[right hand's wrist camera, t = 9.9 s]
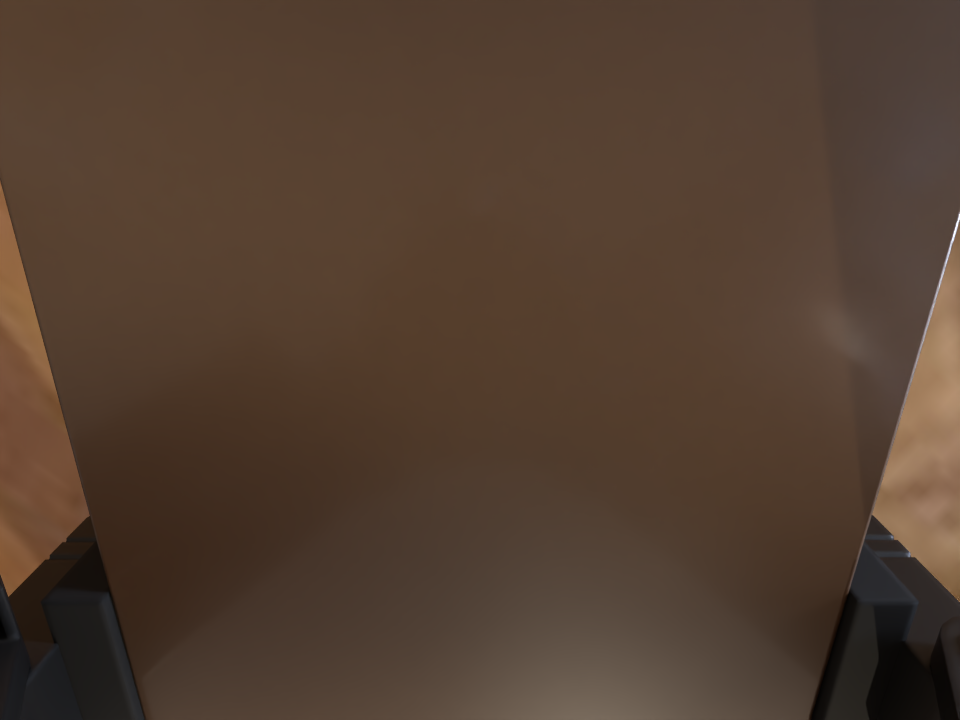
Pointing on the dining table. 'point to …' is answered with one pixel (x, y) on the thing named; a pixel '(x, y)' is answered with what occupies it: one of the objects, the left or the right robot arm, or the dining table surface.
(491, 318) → the wide beam
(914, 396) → the dining table surface
